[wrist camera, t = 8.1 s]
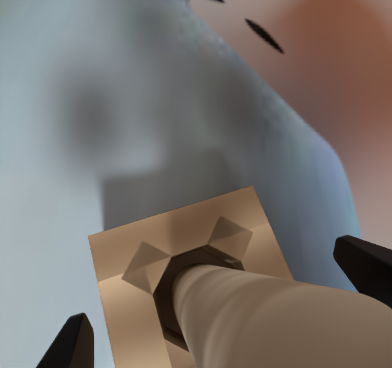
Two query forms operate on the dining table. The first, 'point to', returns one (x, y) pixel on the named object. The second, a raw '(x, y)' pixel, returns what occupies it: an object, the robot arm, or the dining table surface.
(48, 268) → the dining table surface
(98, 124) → the dining table surface
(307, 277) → the dining table surface
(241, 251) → the socket block
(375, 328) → the dowel pin
